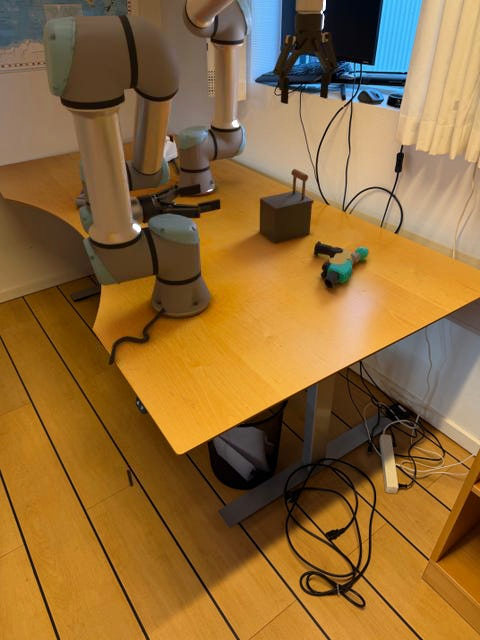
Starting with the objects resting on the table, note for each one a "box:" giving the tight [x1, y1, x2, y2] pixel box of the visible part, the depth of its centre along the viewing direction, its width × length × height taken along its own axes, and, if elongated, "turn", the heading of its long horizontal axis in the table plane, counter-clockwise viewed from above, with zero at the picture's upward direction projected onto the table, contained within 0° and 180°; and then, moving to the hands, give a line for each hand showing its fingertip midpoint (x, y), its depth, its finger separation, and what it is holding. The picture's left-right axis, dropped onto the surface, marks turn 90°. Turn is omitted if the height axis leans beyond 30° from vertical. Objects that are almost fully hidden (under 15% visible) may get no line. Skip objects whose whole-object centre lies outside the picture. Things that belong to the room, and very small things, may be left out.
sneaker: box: [163, 134, 179, 163], centre depth 214 cm, size 10×29×12 cm, turn 163°
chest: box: [259, 201, 313, 244], centre depth 155 cm, size 14×10×11 cm
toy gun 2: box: [313, 240, 370, 290], centre depth 137 cm, size 4×26×15 cm
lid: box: [259, 168, 315, 212], centre depth 150 cm, size 14×10×9 cm
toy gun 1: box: [74, 189, 86, 208], centre depth 180 cm, size 4×19×15 cm
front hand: (209, 195), depth 138 cm, fingers open, 13 cm apart
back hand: (304, 100), depth 136 cm, fingers open, 13 cm apart
